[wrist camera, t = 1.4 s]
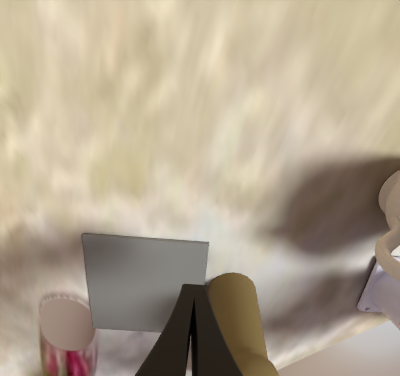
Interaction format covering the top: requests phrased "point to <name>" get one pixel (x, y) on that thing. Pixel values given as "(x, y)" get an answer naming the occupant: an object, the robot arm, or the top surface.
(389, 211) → the teacup
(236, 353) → the cork
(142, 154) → the top surface
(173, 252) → the mat
